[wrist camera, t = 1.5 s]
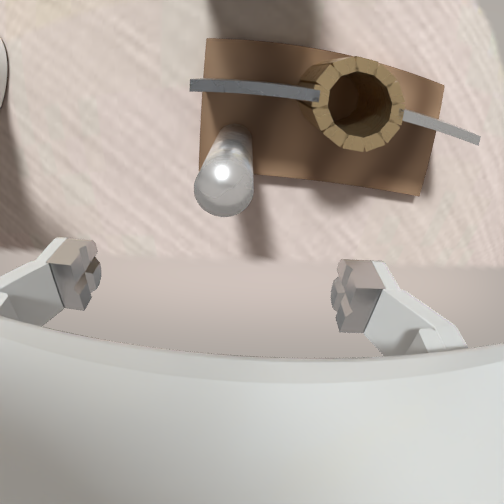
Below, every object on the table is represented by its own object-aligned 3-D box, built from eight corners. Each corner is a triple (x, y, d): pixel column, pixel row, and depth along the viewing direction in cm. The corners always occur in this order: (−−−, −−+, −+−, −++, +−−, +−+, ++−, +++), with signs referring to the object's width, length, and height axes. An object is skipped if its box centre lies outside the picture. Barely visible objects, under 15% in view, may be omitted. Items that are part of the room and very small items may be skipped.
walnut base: (201, 165, 28) (198, 170, 27) (208, 40, 22) (206, 38, 20) (413, 190, 29) (419, 196, 28) (436, 84, 23) (444, 85, 21)
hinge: (203, 118, 24) (187, 133, 18) (208, 47, 21) (193, 37, 15) (429, 152, 25) (469, 177, 19) (441, 92, 22) (487, 104, 16)
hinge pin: (216, 155, 26) (193, 215, 16) (218, 122, 24) (194, 160, 14) (250, 157, 26) (251, 219, 16) (253, 124, 25) (256, 163, 14)
